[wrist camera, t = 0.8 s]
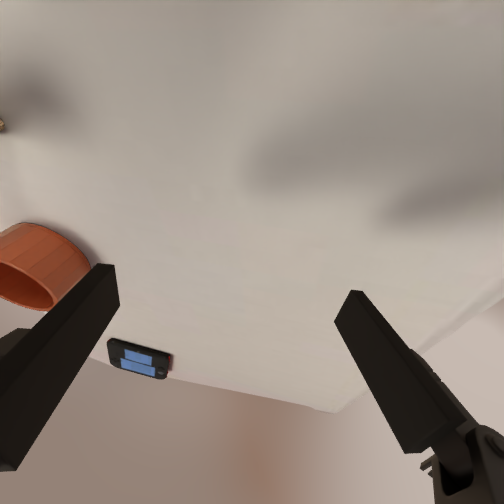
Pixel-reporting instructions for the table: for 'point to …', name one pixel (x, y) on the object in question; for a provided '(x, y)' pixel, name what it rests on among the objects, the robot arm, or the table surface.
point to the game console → (138, 359)
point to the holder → (38, 266)
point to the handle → (1, 125)
